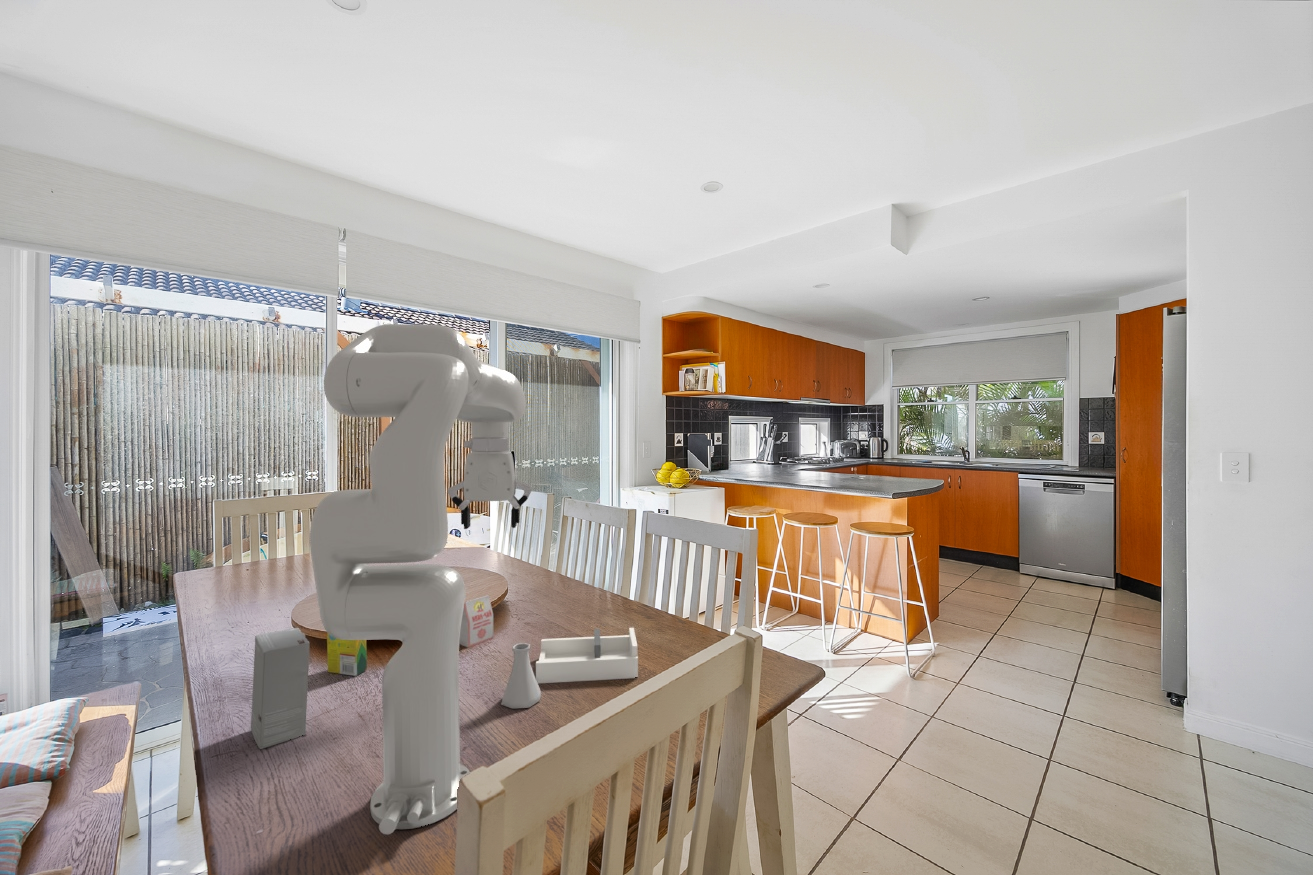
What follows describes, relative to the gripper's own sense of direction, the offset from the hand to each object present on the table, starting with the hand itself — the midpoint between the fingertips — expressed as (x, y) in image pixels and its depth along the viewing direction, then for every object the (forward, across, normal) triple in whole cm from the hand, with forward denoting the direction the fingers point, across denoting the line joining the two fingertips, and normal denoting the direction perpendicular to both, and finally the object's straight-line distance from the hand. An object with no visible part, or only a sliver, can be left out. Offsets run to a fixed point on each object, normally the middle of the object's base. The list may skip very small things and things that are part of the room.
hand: (490, 527), depth 115 cm
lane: (+29, +20, -5) cm, 36 cm away
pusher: (+28, +22, -5) cm, 36 cm away
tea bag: (+29, -6, +12) cm, 32 cm away
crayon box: (+29, -29, 0) cm, 41 cm away
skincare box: (+29, -30, -22) cm, 47 cm away
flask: (+29, +8, -17) cm, 35 cm away
